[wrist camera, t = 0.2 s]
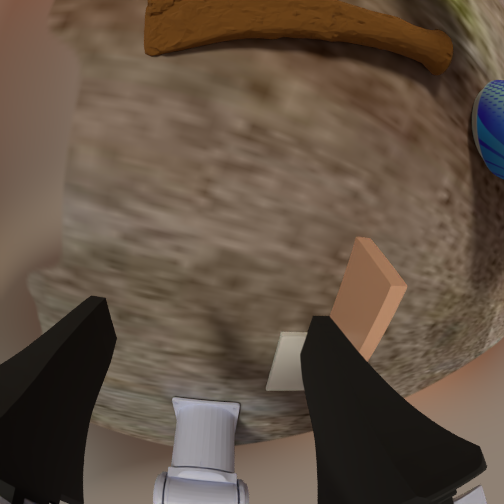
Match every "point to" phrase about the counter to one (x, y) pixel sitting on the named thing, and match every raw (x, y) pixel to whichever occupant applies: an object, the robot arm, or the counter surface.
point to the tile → (367, 297)
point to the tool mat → (287, 363)
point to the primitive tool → (289, 27)
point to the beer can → (490, 126)
